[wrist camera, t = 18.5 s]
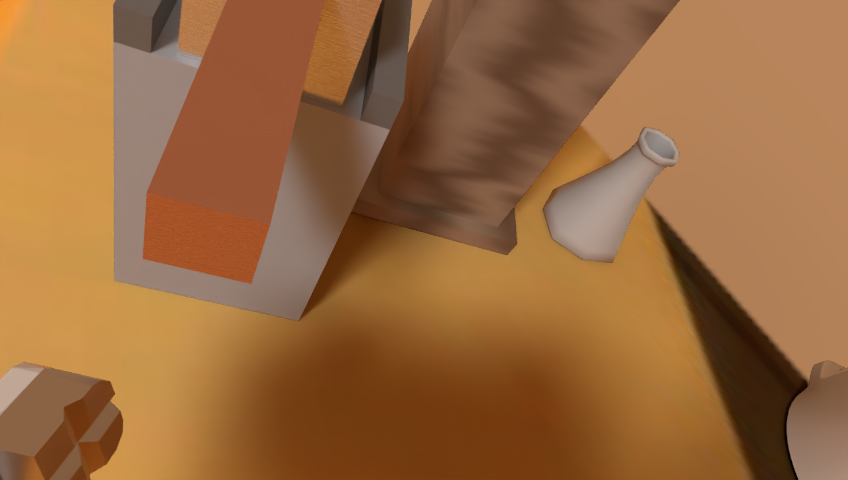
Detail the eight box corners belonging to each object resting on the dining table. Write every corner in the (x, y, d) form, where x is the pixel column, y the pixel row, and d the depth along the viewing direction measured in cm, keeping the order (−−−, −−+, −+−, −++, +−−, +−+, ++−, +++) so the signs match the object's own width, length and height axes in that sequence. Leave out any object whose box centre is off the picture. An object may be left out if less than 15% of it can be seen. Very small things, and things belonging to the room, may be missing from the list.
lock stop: (359, 5, 28) (396, -103, 24) (299, 343, 17) (349, 244, 14) (223, -46, 26) (241, -170, 22) (67, 294, 16) (51, 167, 12)
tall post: (500, 141, 52) (753, -229, 32) (506, 255, 45) (843, -130, 24) (365, 96, 49) (548, -350, 28) (348, 211, 42) (580, -278, 21)
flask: (542, 180, 52) (613, 92, 44) (616, 211, 53) (697, 130, 46) (539, 245, 47) (618, 159, 40) (620, 277, 48) (711, 200, 41)
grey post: (322, 192, 42) (415, -39, 29) (298, 320, 36) (403, 101, 23) (168, 149, 39) (194, -128, 26) (114, 280, 33) (113, 4, 20)
